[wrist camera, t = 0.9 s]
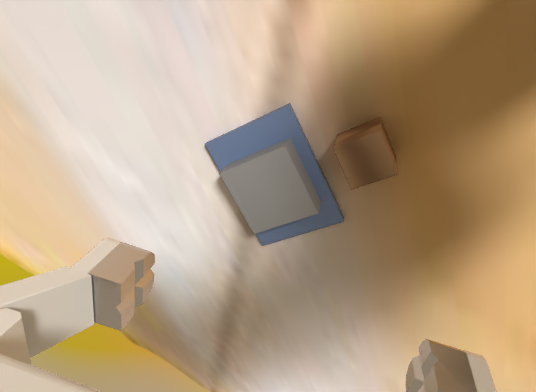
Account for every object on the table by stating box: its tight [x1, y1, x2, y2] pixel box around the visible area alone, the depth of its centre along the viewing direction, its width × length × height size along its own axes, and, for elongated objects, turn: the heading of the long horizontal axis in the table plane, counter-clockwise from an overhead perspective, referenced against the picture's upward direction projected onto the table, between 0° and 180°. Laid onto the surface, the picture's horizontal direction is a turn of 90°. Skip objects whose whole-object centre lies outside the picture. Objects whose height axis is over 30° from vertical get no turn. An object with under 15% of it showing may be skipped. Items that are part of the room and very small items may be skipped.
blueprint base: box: [205, 104, 344, 246], centre depth 46 cm, size 12×16×4 cm
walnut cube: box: [333, 117, 398, 189], centre depth 40 cm, size 5×5×5 cm
